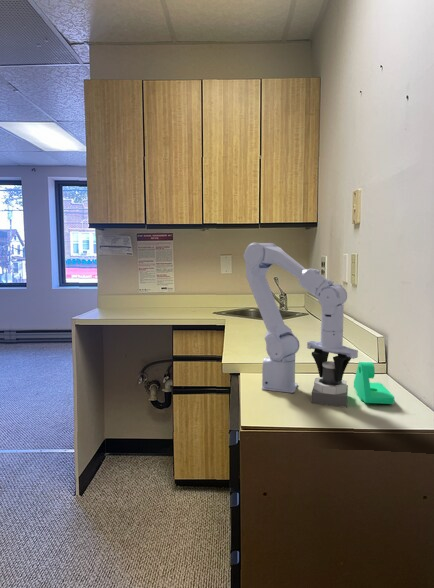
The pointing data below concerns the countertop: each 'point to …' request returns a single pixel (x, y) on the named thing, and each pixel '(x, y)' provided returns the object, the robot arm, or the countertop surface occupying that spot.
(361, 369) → the camera mount
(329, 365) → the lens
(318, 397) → the square octagon-collar plate
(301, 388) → the countertop surface
